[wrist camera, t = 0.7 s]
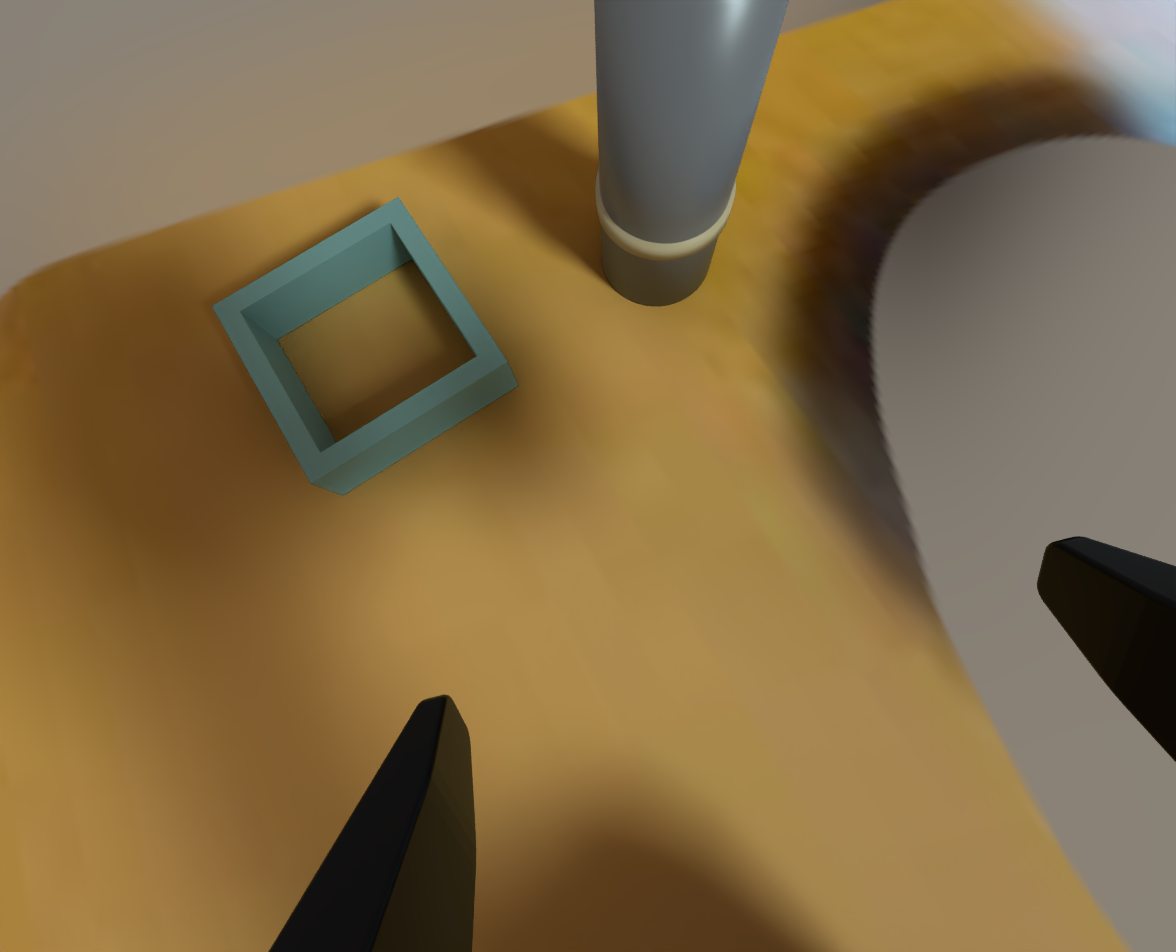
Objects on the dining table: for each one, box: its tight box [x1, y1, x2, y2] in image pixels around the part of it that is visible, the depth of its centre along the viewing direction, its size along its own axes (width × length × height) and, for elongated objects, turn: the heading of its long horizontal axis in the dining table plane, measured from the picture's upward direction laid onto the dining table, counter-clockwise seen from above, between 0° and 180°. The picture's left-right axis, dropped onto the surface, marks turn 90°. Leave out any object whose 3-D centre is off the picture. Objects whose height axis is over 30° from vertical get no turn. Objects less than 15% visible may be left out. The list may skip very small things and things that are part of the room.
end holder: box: [212, 197, 518, 495], centre depth 23 cm, size 8×8×2 cm
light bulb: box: [594, 0, 789, 306], centre depth 18 cm, size 5×5×12 cm
